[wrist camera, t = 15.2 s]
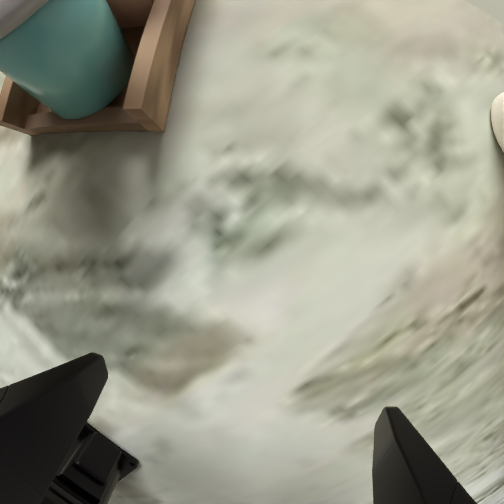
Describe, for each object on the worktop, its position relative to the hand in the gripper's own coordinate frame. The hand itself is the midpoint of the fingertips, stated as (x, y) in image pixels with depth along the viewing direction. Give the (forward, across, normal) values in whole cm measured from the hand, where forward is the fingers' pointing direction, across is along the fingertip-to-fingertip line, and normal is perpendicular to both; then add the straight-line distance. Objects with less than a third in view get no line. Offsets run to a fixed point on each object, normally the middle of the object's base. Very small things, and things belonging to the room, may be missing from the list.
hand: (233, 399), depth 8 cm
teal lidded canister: (+10, +13, -12) cm, 20 cm away
